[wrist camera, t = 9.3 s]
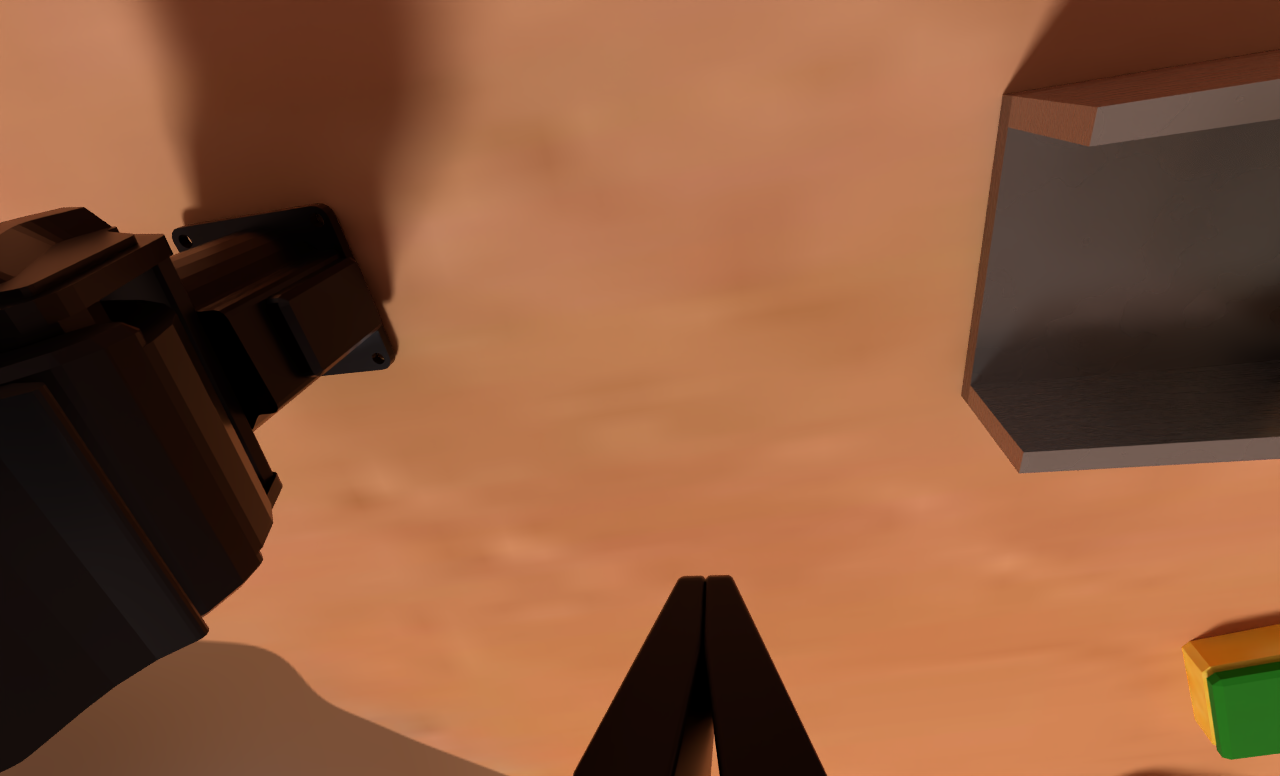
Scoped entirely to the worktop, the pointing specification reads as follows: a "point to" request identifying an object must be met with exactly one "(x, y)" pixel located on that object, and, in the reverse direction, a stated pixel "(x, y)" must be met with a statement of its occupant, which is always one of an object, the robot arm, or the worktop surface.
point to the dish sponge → (1237, 690)
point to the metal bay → (1133, 271)
